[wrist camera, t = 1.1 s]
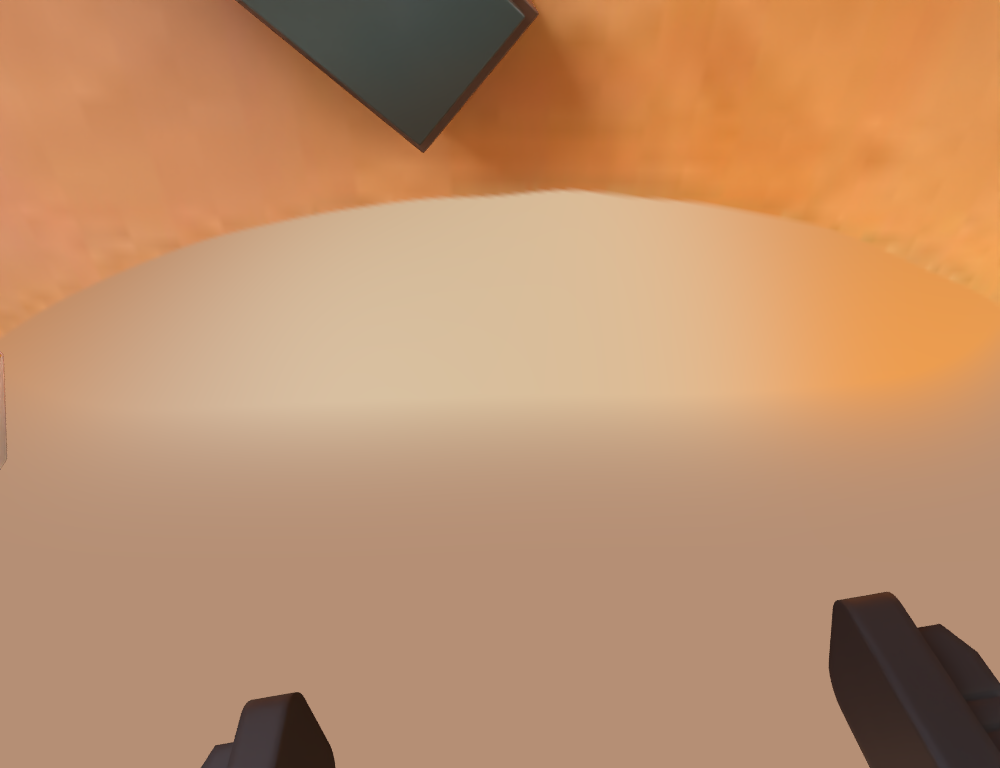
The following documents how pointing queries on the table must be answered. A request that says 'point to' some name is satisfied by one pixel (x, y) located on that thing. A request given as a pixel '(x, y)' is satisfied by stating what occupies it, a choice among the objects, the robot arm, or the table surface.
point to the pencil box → (402, 51)
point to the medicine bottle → (2, 415)
